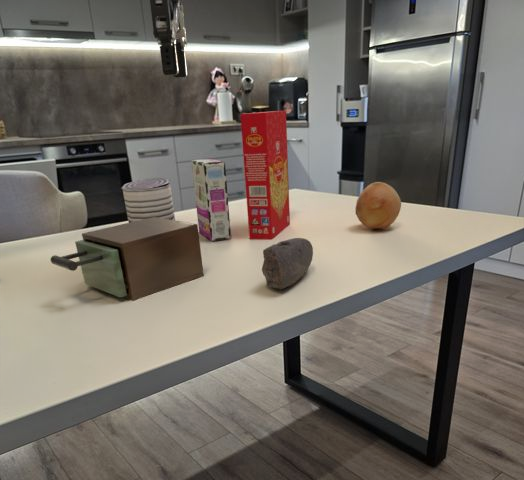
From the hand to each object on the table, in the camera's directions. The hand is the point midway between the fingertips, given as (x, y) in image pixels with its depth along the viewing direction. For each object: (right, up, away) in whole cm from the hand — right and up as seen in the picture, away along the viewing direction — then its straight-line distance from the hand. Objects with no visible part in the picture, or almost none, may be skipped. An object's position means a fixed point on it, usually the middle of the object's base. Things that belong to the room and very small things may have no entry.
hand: (176, 76), depth 76 cm
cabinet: (-6, -31, +9) cm, 33 cm away
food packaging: (+16, -16, +37) cm, 43 cm away
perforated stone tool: (+18, -32, +4) cm, 37 cm away
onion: (+40, -16, +32) cm, 54 cm away
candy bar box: (+3, -17, +36) cm, 40 cm away
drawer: (-10, -32, +5) cm, 34 cm away
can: (-13, -14, +44) cm, 48 cm away
